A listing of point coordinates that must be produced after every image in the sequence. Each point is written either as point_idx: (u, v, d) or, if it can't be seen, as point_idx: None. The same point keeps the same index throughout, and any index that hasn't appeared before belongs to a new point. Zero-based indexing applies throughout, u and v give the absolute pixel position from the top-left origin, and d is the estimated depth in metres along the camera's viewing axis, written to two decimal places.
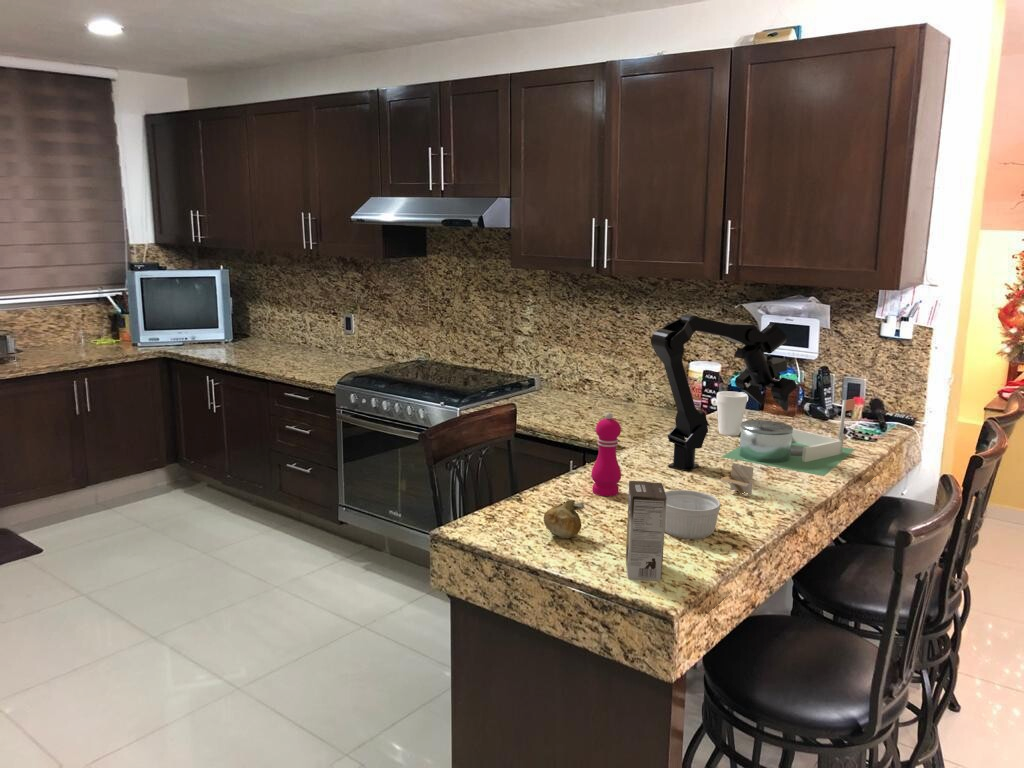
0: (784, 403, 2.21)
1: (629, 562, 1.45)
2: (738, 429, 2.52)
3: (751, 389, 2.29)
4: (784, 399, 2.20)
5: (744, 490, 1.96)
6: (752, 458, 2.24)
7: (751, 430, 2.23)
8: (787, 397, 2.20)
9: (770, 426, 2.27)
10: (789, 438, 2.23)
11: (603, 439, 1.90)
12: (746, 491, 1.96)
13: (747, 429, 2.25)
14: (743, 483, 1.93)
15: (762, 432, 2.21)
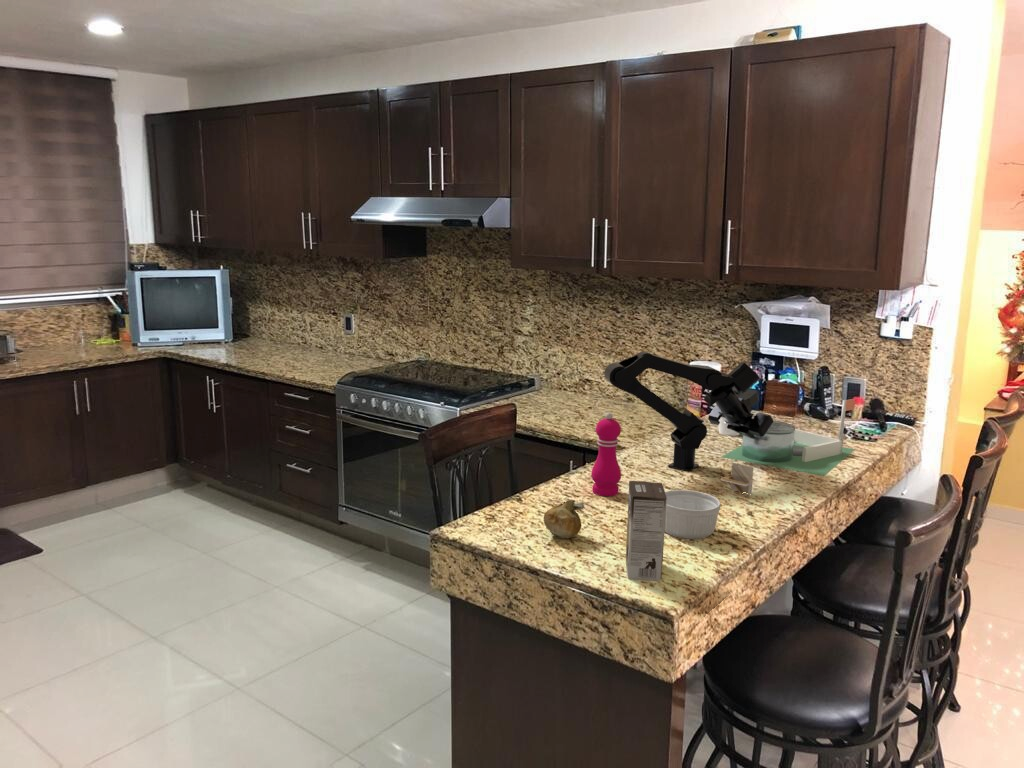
0: (750, 433, 2.21)
1: (629, 562, 1.45)
2: None
3: (738, 427, 2.21)
4: None
5: (744, 490, 1.96)
6: (754, 457, 2.25)
7: None
8: None
9: (772, 426, 2.27)
10: (791, 438, 2.24)
11: (603, 439, 1.90)
12: (746, 491, 1.96)
13: None
14: (743, 483, 1.93)
15: None
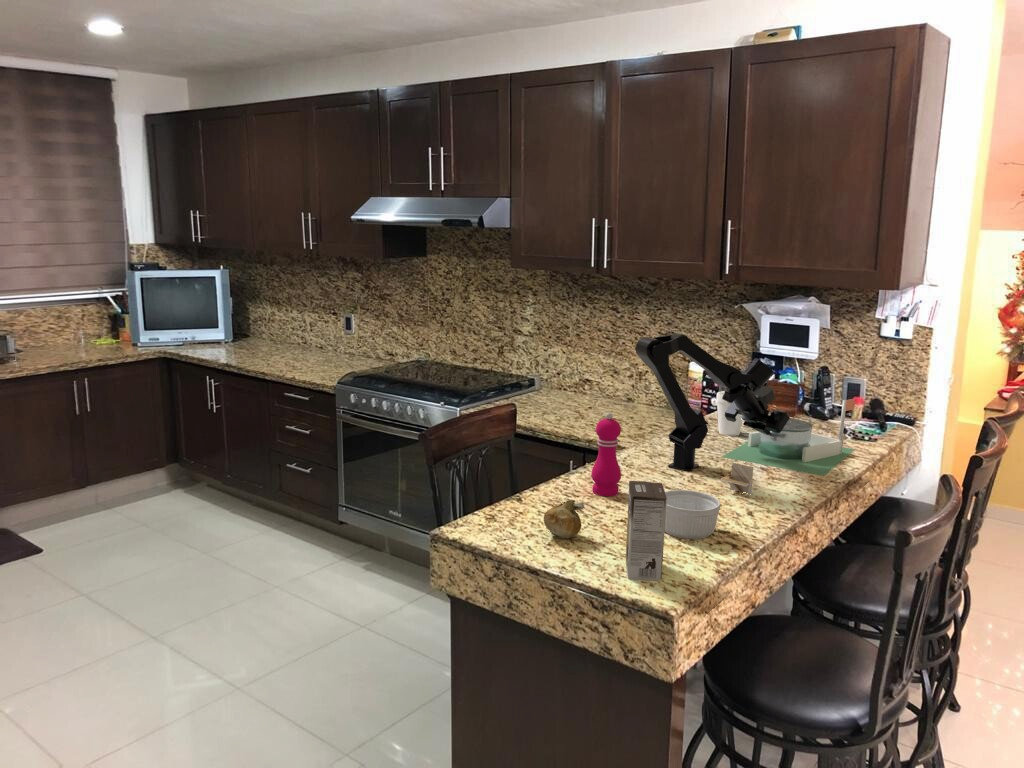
0: (766, 429, 2.25)
1: (629, 562, 1.45)
2: (738, 429, 2.52)
3: (755, 424, 2.25)
4: None
5: (744, 490, 1.96)
6: (771, 454, 2.28)
7: None
8: None
9: (790, 423, 2.31)
10: (808, 435, 2.27)
11: (603, 439, 1.90)
12: (746, 491, 1.96)
13: None
14: (743, 483, 1.93)
15: None
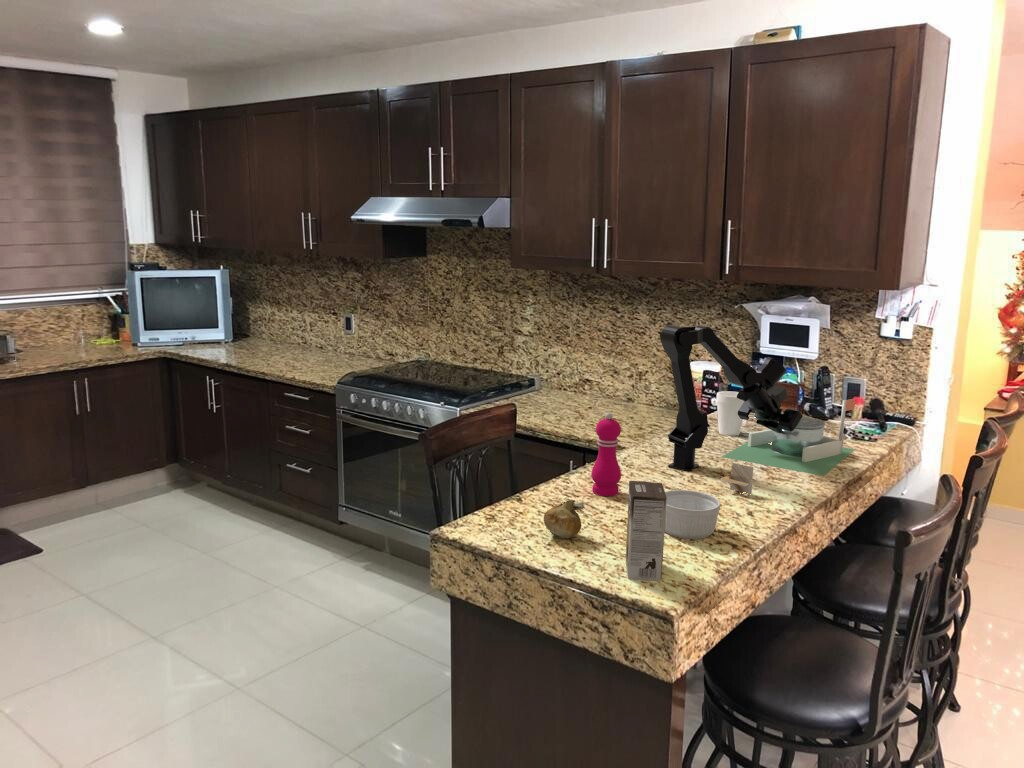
0: (778, 428, 2.29)
1: (629, 562, 1.45)
2: (738, 429, 2.52)
3: (767, 422, 2.28)
4: None
5: (744, 490, 1.96)
6: (784, 452, 2.31)
7: None
8: None
9: (802, 421, 2.34)
10: (821, 433, 2.30)
11: (603, 439, 1.90)
12: (746, 491, 1.96)
13: None
14: (743, 483, 1.93)
15: None
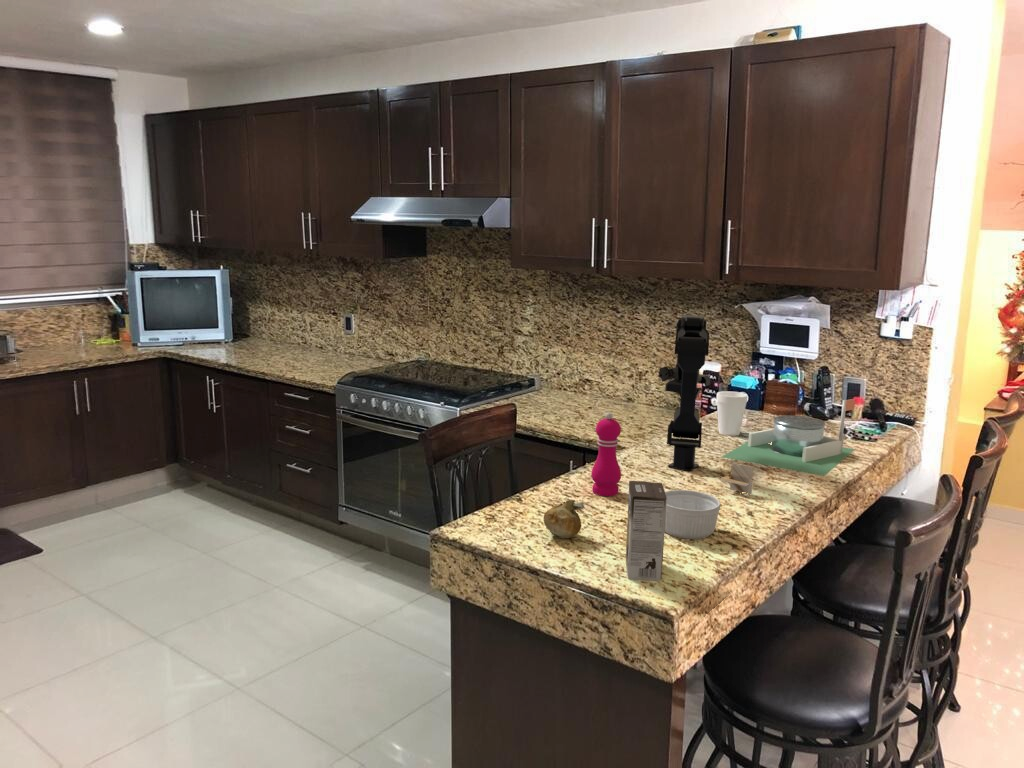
0: None
1: (629, 562, 1.45)
2: (738, 429, 2.52)
3: None
4: None
5: (744, 490, 1.96)
6: (784, 452, 2.31)
7: (783, 425, 2.31)
8: None
9: (802, 421, 2.34)
10: (821, 433, 2.30)
11: (603, 439, 1.90)
12: (746, 491, 1.96)
13: (779, 424, 2.32)
14: (743, 483, 1.93)
15: (794, 427, 2.28)
